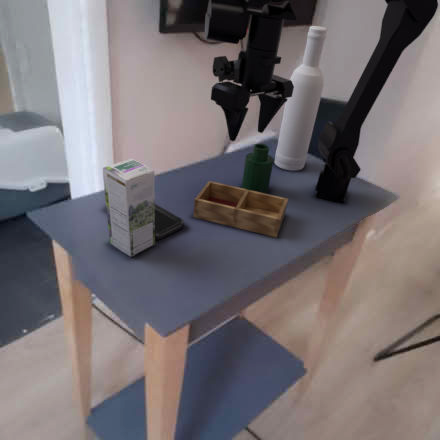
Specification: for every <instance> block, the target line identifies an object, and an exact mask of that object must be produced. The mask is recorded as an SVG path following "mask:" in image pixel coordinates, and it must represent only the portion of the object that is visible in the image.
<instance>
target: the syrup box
mask: <svg viewBox="0 0 440 440" xmlns="http://www.w3.org/2000/svg"><path fill="white" fill-rule="evenodd" d="M102 179H103V188H104V196H105V199H104V200H105V208H106V216H107V217H106V219H107V228H108V237H109V238H108V239H109V244H110V245H111V246H113V247H114V248H116V249H117V250H119V251H120V252H121V253H123V254H125V255H127V256H128V257H129V258H133V257H135V256H137V255H138V254H141V253H142V252H144V251H145V250H148V249H149V248H152V247H153V246H155V244H156V240H155V204H156V203H155V202H156V201H155V200H156V199H155V198H156V193H155V185H156V184H155V171H154V169H152V168H150V167H148V166H147V165H145V164H144V163H142V162H140V161H139V160H135V159H133V158H128V159H125V160H123V161H120V162H119V161H118V162H117V163H113V164H110V165H107V166H104V167H102Z"/></svg>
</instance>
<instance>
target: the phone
mask: <svg viewBox="0 0 440 440" xmlns="http://www.w3.org/2000/svg"><path fill="white" fill-rule="evenodd" d="M183 228H184V220H183V219H182V218H181V217H179V216H177V215H175V214H173V213H172V212H170V211H168V210H167V209H165V208H163V207H162V206H160V205H158V204H156V203H155V241H161V240H162V239H165V238H166V237H168V236H170V235H172V234H174V233H176V232H178V231H180V230H182V229H183Z"/></svg>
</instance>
